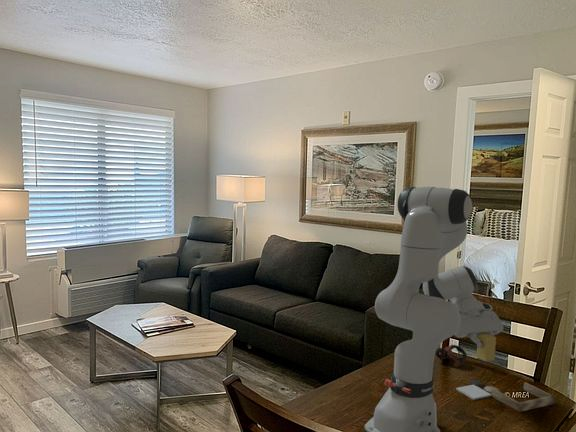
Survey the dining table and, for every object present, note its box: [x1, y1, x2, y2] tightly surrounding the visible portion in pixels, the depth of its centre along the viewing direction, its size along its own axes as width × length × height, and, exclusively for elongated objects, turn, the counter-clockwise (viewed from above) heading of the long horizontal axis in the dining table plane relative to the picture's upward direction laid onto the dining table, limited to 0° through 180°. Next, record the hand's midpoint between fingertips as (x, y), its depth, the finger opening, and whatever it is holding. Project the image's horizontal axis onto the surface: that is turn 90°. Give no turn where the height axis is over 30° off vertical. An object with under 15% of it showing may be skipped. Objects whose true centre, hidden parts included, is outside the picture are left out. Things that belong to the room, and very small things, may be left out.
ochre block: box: [476, 334, 497, 362], centre depth 153 cm, size 4×4×8 cm
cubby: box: [491, 382, 556, 413], centre depth 148 cm, size 16×11×2 cm
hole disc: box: [468, 379, 485, 388], centre depth 160 cm, size 5×5×1 cm
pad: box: [455, 384, 492, 401], centre depth 153 cm, size 8×8×1 cm
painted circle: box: [483, 385, 501, 394], centre depth 155 cm, size 5×5×1 cm
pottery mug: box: [435, 344, 467, 368], centre depth 178 cm, size 12×10×8 cm
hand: (487, 346), depth 152 cm, fingers closed on ochre block, 4 cm apart
